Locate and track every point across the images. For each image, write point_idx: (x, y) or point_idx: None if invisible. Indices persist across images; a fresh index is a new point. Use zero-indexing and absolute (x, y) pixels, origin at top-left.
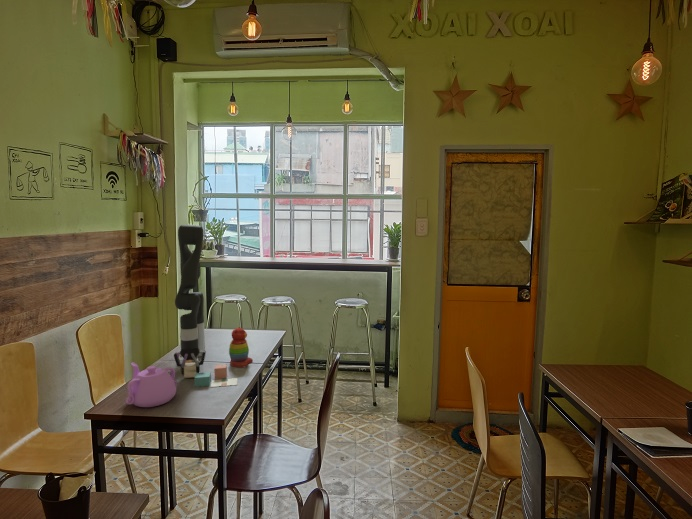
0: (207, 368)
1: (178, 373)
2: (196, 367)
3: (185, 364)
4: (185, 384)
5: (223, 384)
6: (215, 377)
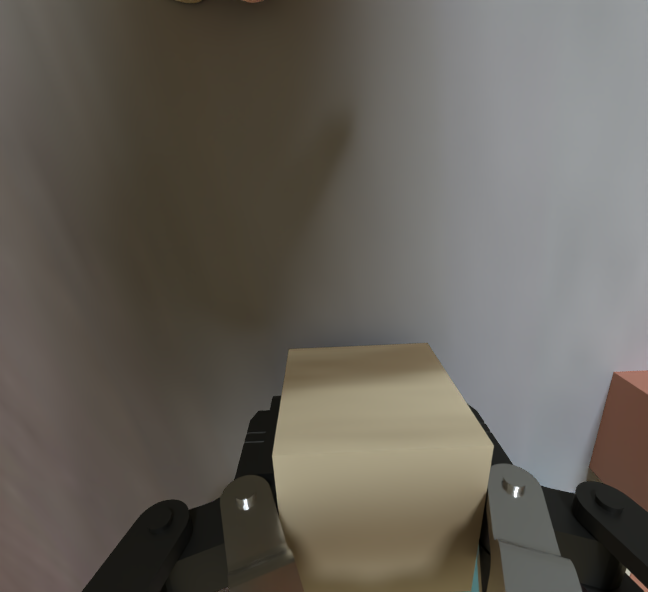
0: (546, 73)
1: (167, 224)
2: None
3: (289, 515)
4: None
5: (642, 589)
6: (611, 481)
